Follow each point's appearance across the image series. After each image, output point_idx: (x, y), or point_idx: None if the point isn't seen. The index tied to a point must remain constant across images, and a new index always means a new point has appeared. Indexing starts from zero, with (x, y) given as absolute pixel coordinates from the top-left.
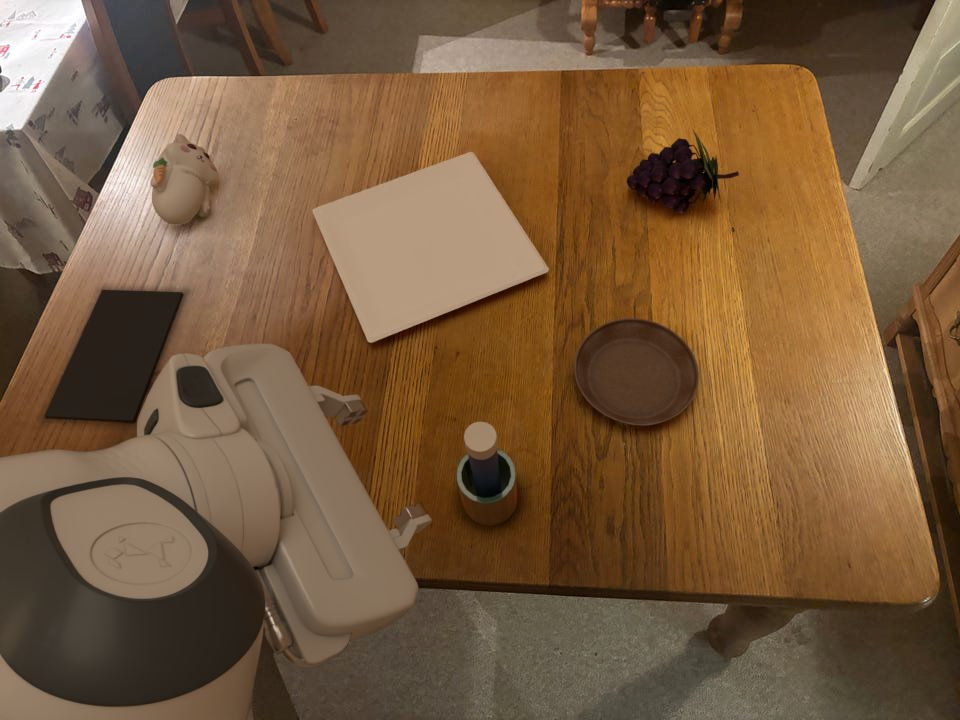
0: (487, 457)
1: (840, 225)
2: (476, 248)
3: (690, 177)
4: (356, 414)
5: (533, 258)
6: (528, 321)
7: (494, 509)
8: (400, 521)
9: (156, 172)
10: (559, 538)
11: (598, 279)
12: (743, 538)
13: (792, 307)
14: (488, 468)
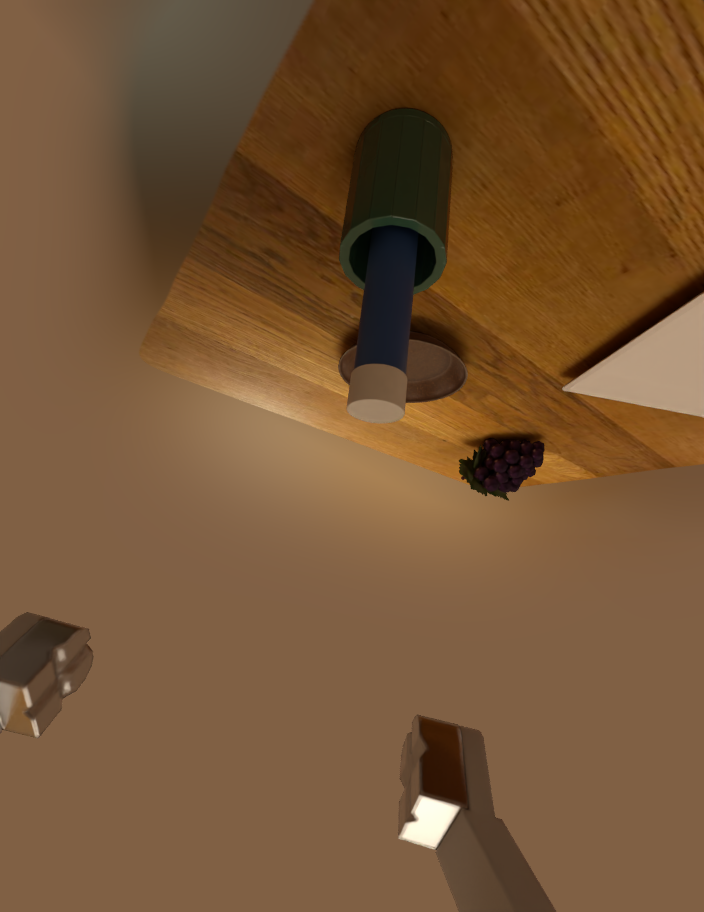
0: (351, 377)
1: (393, 456)
2: (682, 366)
3: (486, 479)
4: (411, 773)
5: (589, 390)
6: (550, 341)
7: (346, 211)
8: (8, 704)
9: None
10: (288, 202)
11: (509, 392)
12: (213, 321)
13: (367, 425)
14: (359, 328)
